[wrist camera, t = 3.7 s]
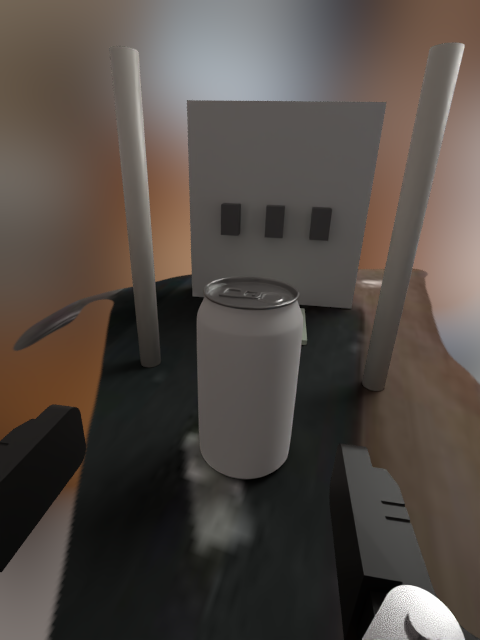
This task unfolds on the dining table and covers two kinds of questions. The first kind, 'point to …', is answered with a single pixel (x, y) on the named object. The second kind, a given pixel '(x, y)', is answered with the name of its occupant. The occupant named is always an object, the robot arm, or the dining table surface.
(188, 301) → the dining table surface
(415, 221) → the cord posts
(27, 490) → the robot arm
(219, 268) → the breaker panel
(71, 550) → the dining table surface
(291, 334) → the can
